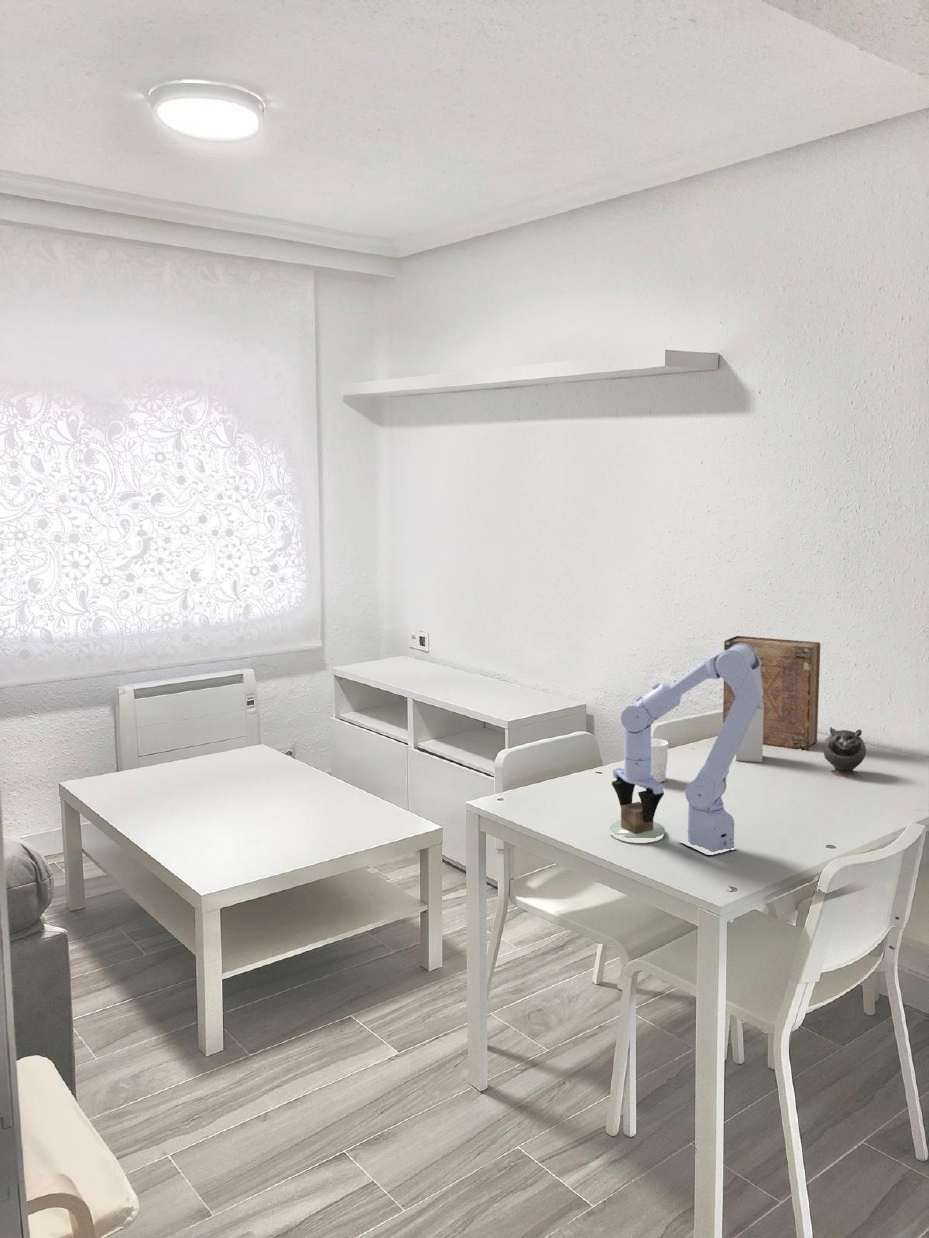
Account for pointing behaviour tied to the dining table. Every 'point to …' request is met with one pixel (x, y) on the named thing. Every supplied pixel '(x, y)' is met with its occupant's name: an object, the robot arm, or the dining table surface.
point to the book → (785, 690)
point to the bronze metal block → (634, 818)
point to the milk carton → (753, 738)
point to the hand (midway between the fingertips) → (637, 816)
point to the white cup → (659, 759)
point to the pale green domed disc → (654, 833)
